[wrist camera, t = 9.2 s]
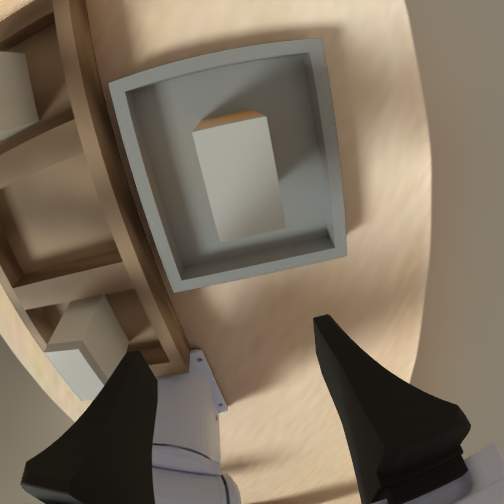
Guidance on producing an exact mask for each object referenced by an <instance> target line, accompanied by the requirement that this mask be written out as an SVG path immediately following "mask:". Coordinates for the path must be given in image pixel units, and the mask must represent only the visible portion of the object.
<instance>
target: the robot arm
mask: <svg viewBox="0 0 504 504" xmlns="http://www.w3.org/2000/svg"><path fill="white" fill-rule="evenodd" d="M313 323H314V334H315V345H316V354H317V358H318V361H319V365H320V368H321V372H322V375H323V377H324V380H325V382H326V385H327V387H328V389H329V392H330V394H331V397H332V399H333V402H334V404H335V406H336V409H337V411H338V414H339V416H340V419H341V422H342V425H343V428H344V432H345V435H346V439H347V443H348V447H349V450H350V454H351V458H352V462H353V466H354V470H355V475H356V479H357V483H358V488H359V493H360V498H361V503H362V504H500V503H502V502H503V501H504V459H503V457H502V455H501V453H500V452H499V449H498V447H497V446H496V444H495V443H491V444H490V445H488V446H486V447H485V448H483V449H481V450H480V451H478V452H476V453H475V454H473V455H471V456H469V457H468V458H467V459H465V460H463V458H462V456H461V454H463V450H462V448H461V446H460V444H461V443H462V441H463V440H464V438H465V437H466V435H467V434H468V432H469V430H470V428H471V424H470V423H469V421H468V419H467V417H466V416H465V414H464V413H463V411H462V410H461V409H460V408H459V406H458V405H456V404H452V403H450V402H447V401H444V400H442V399H439V398H437V397H434V396H432V395H430V394H428V393H426V392H423V391H422V390H420V389H418V388H416V387H414V386H412V385H411V384H409V383H407V382H405V381H403V380H402V379H400V378H399V377H397V376H396V375H394V374H393V373H391V372H390V371H388V370H387V369H385V368H384V367H383V366H381V365H380V364H379V363H378V362H376V361H375V360H374V359H373V358H372V357H370V356H369V355H368V354H367V353H366V352H365V351H363V350H362V349H361V348H360V347H359V346H358V345H357V344H356V343H355V342H354V341H353V340H352V339H351V338H350V337H349V336H348V335H347V334H346V333H345V332H344V331H343V330H342V329H341V328H340V327H339V325H338V324H337V323H336V322H335V321H334V320H333V318H332V317H331V316H330V315H328V314H327V315H323V316H319V317H315V318H313ZM198 358H201V359H198ZM226 411H228V406H227V404H226V402H225V400H224V398H223V396H222V393H221V391H220V389H219V387H218V385H217V382H216V380H215V378H214V376H213V373H212V371H211V369H210V366H209V364H208V362H207V359H206V357H205V355H204V352H203V351H202V350H199V349H196V350H190V365H189V373H185V374H178V375H170V376H162V377H155V375H154V374H153V372H152V371H151V369H150V367H149V366H148V364H147V362H146V360H145V359H144V357H143V355H142V354H141V352H140V350H137V351H130V352H127V353H126V354H125V355H124V357H123V358H122V360H121V361H120V363H119V364H118V366H117V367H116V369H115V370H114V372H113V373H112V375H111V376H110V378H109V379H108V381H107V382H106V384H105V385H104V387H103V388H102V390H101V391H100V392H99V394H98V395H97V396H96V398H95V399H94V400H93V402H92V403H91V404H90V406H89V407H88V408H87V410H86V411H85V412H84V413H83V414H82V415H81V417H80V418H79V419H78V420H77V421H76V422H75V423H74V424H73V425H72V426H71V427H70V428H69V429H68V430H67V431H66V432H65V433H64V434H63V435H62V436H61V437H60V438H59V439H58V440H56V441H55V442H54V443H53V444H52V445H51V446H49V447H48V448H46V449H45V450H44V451H42V452H41V453H39V454H38V455H36V456H35V457H33V458H32V459H30V460H29V461H27V462H26V465H25V469H24V473H23V477H22V481H21V486H22V488H23V489H24V490H25V491H26V492H28V493H29V494H31V495H32V496H34V497H35V498H37V499H39V500H40V501H42V502H44V503H45V504H241V497H240V492H239V489H238V486H237V485H236V483H235V482H234V481H233V479H232V478H231V476H230V475H228V474H225V473H221V462H220V458H221V454H220V433H219V413H223V412H226ZM23 504H27V503H23Z"/></svg>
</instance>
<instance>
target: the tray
mask: <svg viewBox="0 0 504 504" xmlns="http://www.w3.org/2000/svg"><path fill="white" fill-rule="evenodd" d="M108 84H109V88H110V93H111V97H112V101H113V105H114V109H115V113H116V117H117V121H118V125H119V128H120V132H121V136H122V140H123V143H124V147H125V150H126V154H127V157H128V161H129V164H130V167H131V171H132V174H133V177H134V181H135V184H136V187H137V190H138V194H139V197H140V200H141V203H142V206H143V209H144V212H145V215H146V218H147V221H148V224H149V227H150V230H151V233H152V236H153V239H154V241H155V244H156V247H157V250H158V253H159V255H160V258H161V261H162V264H163V266H164V269H165V272H166V274H167V277H168V280H169V282H170V285H171V288H172V290H173V293H176V292H181V291H186V290H191V289H196V288H201V287H206V286H211V285H216V284H221V283H226V282H230V281H235V280H240V279H245V278H249V277H254V276H259V275H263V274H268V273H273V272H277V271H282V270H287V269H291V268H296V267H300V266H305V265H309V264H314V263H318V262H322V261H327V260H331V259H336V258H340V257H344V256H347V242H346V225H345V210H344V198H343V186H342V176H341V166H340V157H339V148H338V140H337V132H336V124H335V117H334V110H333V103H332V97H331V90H330V84H329V78H328V72H327V67H326V61H325V56H324V51H323V45H322V40H321V38H313V39H301V40H291V41H281V42H273V43H266V44H259V45H252V46H246V47H240V48H234V49H229V50H224V51H219V52H214V53H209V54H205V55H201V56H196V57H192V58H188V59H184V60H180V61H176V62H173V63H169V64H165V65H162V66H158V67H155V68H152V69H148V70H145V71H142V72H139V73H136V74H133V75H130V76H127V77H124V78H121V79H118V80H116V81H113V82H110V83H108ZM251 109H252V110H254V111H256V112H258V113H260V114H262V115H264V116H266V117H267V123H268V128H269V133H270V138H271V144H272V149H273V155H274V160H275V166H276V171H277V177H278V182H279V188H280V194H281V200H282V206H283V212H284V218H285V224H286V228H284V229H279V230H275V231H270V232H265V233H261V234H256V235H252V236H247V237H242V238H238V239H233V240H229V241H224V242H220V240H219V236H218V232H217V229H216V225H215V221H214V217H213V213H212V210H211V206H210V202H209V198H208V194H207V190H206V186H205V182H204V179H203V175H202V171H201V167H200V163H199V159H198V155H197V151H196V147H195V143H194V139H193V134H192V132H193V130H194V129H195V128H196V126H197V125H198V124H199V122H200V121H201V120H205V119H209V118H213V117H218V116H222V115H227V114H232V113H236V112H241V111H246V110H251Z"/></svg>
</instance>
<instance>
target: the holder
mask: <svg viewBox="0 0 504 504" xmlns="http://www.w3.org/2000/svg"><path fill="white" fill-rule="evenodd" d="M0 52H16V53H25V54H26V60H27V66H28V71H29V77H30V82H31V87H32V91H33V96H34V101H35V105H36V109H37V113H38V117H39V122H37V123H35V124H33V125H31V126H29V127H27V128H25V129H23V130H21V131H19V132H17V133H16V134H14V135H12V136H10V137H8V138H6V139H3V140H0V283H1V285H2V287H3V289H4V290H5V292H6V294H7V296H8V298H9V299H10V301H11V303H12V304H13V306H14V308H15V310H16V311H17V313H18V315H19V316H20V318H21V319H22V321H23V323H24V324H25V326H26V327H27V329H28V330H29V332H30V333H31V335H32V337H33V338H34V340H35V341H36V342H37V344H38V345H39V347H40V348H41V350H42V351H43V353H44V351H45V349H46V347H47V345H48V343H49V341H50V339H51V337H52V335H53V333H54V331H55V329H56V327H57V325H58V323H59V321H60V320H61V318H62V316H63V314H64V312H65V310H66V309H67V307H68V305H69V303H70V301H74V300H79V299H84V298H89V297H94V296H99V295H105V297H106V299H107V301H108V303H109V305H110V307H111V309H112V310H113V312H114V314H115V316H116V318H117V320H118V322H119V324H120V326H121V327H122V329H123V331H124V333H125V335H126V337H127V338H128V340H129V344H128V348H127V352H130V351H137V350H140V352H141V354H142V355H143V357H144V359H145V360H146V362H147V364H148V366H149V367H150V369H151V371H152V372H153V374H154V375H155V377H162V376H170V375H178V374H185V373H189V365H190V350H191V348H190V346H189V344H188V341H187V339H186V337H185V335H184V332H183V330H182V328H181V325H180V323H179V321H178V318H177V316H176V313H175V311H174V309H173V306H172V304H171V301H170V299H169V296H168V294H167V291H166V289H165V286H164V284H163V281H162V279H161V276H160V274H159V271H158V268H157V266H156V263H155V260H154V258H153V255H152V252H151V250H150V247H149V244H148V241H147V239H146V236H145V233H144V230H143V227H142V224H141V222H140V219H139V216H138V213H137V210H136V207H135V204H134V201H133V198H132V195H131V191H130V188H129V185H128V182H127V179H126V175H125V172H124V169H123V166H122V162H121V159H120V155H119V152H118V148H117V145H116V141H115V138H114V134H113V130H112V127H111V123H110V119H109V115H108V111H107V107H106V103H105V99H104V95H103V91H102V87H101V82H100V78H99V73H98V69H97V64H96V59H95V54H94V49H93V44H92V39H91V33H90V28H89V22H88V16H87V9H86V3H85V0H35V1H33V2H31V3H30V4H28V5H26V6H25V7H23V8H21V9H20V10H18V11H17V12H15V13H14V14H12V15H11V16H9V17H7V18H6V19H5V20H3V21H2V22H0ZM127 352H126V353H127Z"/></svg>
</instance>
